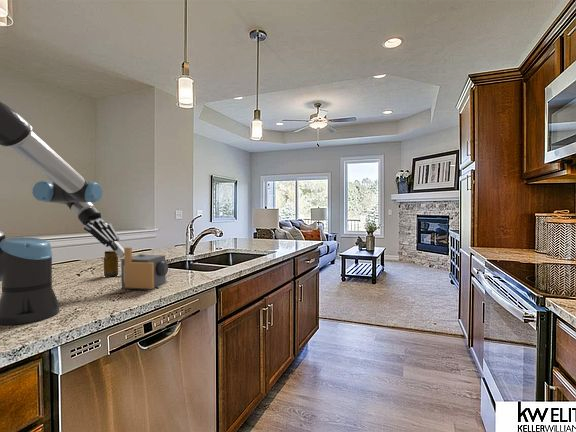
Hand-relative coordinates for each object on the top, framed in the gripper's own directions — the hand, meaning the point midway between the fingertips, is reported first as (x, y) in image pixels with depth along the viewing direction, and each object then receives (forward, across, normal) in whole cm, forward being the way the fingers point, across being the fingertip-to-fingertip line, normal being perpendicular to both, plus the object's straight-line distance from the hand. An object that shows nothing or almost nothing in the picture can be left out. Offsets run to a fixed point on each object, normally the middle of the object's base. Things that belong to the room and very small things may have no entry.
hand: (123, 255), depth 127 cm
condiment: (-5, -22, -26) cm, 34 cm away
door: (+14, +1, -4) cm, 15 cm away
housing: (+13, -6, -6) cm, 16 cm away
